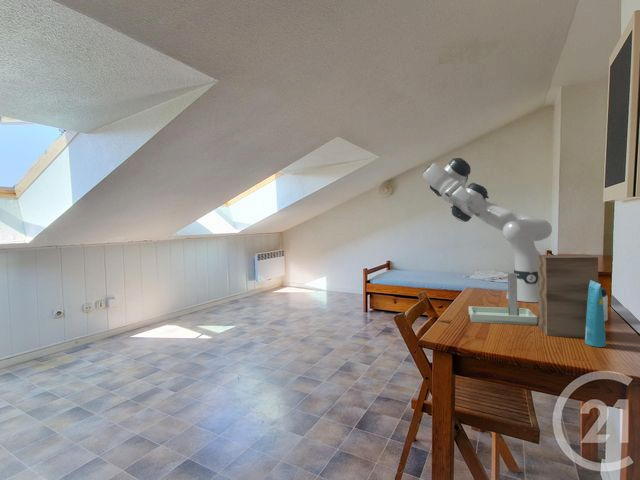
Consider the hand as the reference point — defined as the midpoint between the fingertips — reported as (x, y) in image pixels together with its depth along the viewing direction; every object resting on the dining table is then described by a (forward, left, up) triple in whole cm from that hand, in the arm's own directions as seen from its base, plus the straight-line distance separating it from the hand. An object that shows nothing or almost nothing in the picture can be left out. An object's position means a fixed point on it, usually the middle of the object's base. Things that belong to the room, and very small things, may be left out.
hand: (479, 213), depth 135 cm
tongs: (+4, +9, -32) cm, 34 cm away
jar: (-2, +38, -42) cm, 57 cm away
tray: (+4, +6, -42) cm, 43 cm away
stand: (+17, +24, -42) cm, 51 cm away
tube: (+28, +28, -42) cm, 58 cm away
